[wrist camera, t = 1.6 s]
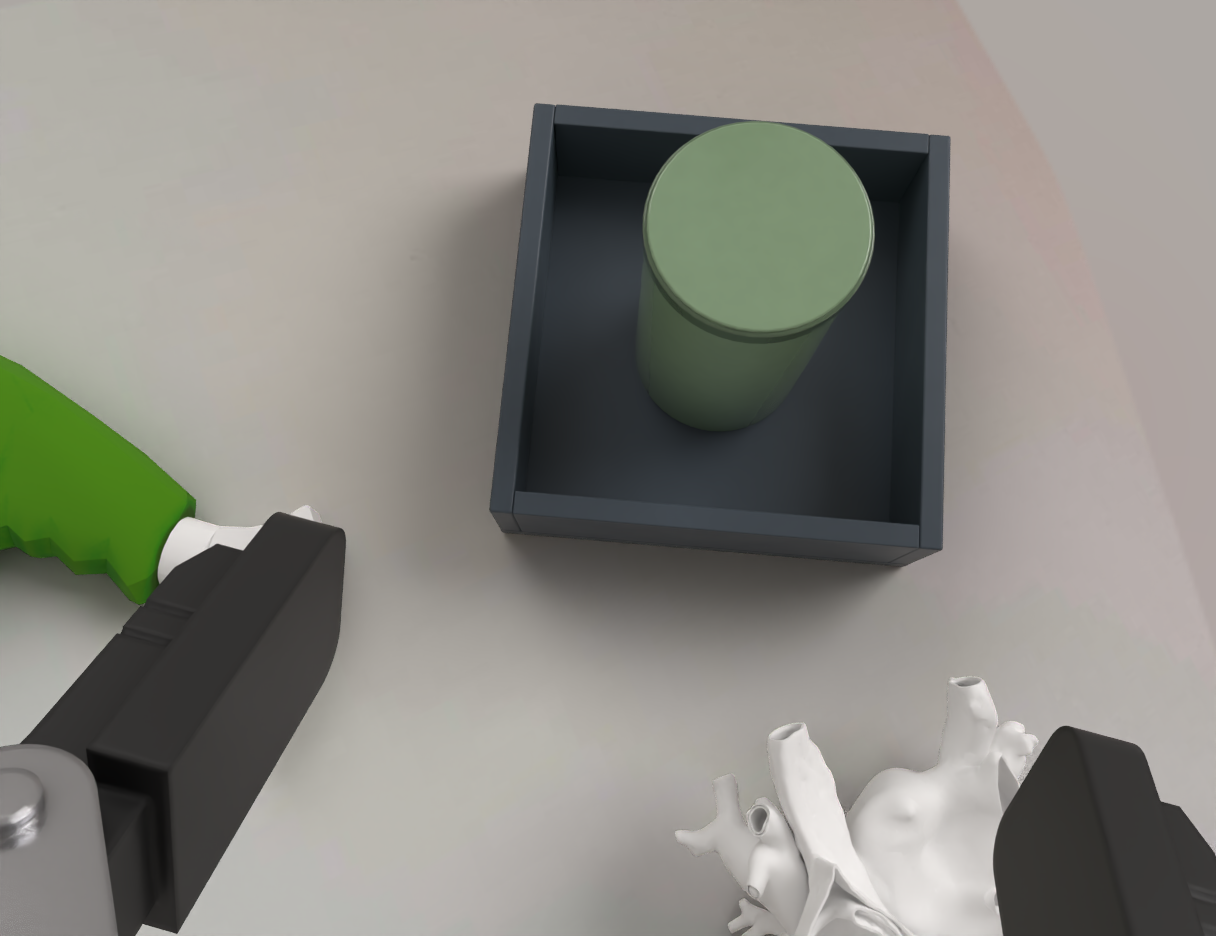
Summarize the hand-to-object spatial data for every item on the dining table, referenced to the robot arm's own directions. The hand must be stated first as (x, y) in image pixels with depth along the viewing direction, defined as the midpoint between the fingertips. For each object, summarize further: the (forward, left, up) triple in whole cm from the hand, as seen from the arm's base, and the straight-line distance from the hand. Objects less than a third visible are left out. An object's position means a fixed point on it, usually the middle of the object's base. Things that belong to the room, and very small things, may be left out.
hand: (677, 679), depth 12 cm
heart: (-8, +6, -23) cm, 25 cm away
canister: (-2, -11, -22) cm, 25 cm away
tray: (-2, -11, -23) cm, 26 cm away
